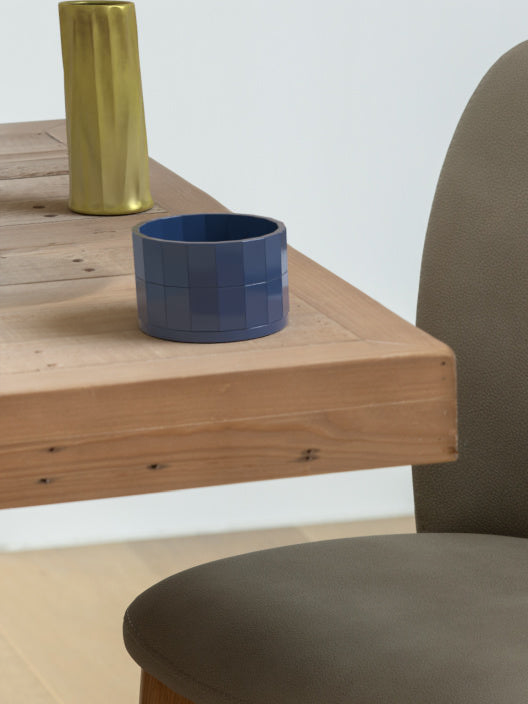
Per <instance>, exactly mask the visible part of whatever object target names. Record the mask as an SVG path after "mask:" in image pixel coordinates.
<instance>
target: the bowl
mask: <svg viewBox="0 0 528 704" xmlns="http://www.w3.org/2000/svg"><path fill="white" fill-rule="evenodd" d="M287 234H288V233H287V227H286V225H285V223H284V222H283V221H281V220H278V219H275V218H273V217H270V216H264V215H258V214H252V213H238V212H193V213H180V214H172V215H171V214H170V215H165V216H158V217H154V218H150V219H146V220H143V221H140V222H137V223H136V224H135V225H133V226H132V227H131V242H132V243H131V244H132V254H133V255H132V256H133V269H134V284H135V297H136V310H137V311H136V312H137V321H138V322H137V323H138V327H139V329H140V331H141V332H143V333H145V334H146V335H149V336H151V337H155V338H157V339H161V340H165V341H166V340H167V341H172V342H182V343H195V344H196V343H197V344H198V343H199V344H201V343H203V344H207V343H208V344H212V343H213V344H215V343H229V342H230V343H231V342H240V341H247V340H252V339H253V340H254V339H259V338H261V337H266V336H269V335H272V334H275V333H277V332H280V331H281V330H283V329H284V328H286V327H287V325H288V324H289V322H290V318H289V317H290V316H289V313H290V292H289V291H290V290H289V266H288V265H289V263H288V262H289V261H288V235H287Z"/></svg>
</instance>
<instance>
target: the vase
mask: <svg viewBox="0 0 528 704" xmlns="http://www.w3.org/2000/svg"><path fill="white" fill-rule="evenodd" d="M57 10H58V22H59V23H58V25H59V35H60V36H59V37H60V48H61V62H62V69H63V90H64V91H63V93H64V94H63V95H64V113H65V130H66V131H65V132H66V141H67V142H66V145H67V157H68V158H67V160H68V178H69V180H68V183H69V184H68V185H69V186H68V187H69V188H68V202H67V205H68V208H69V209H70V210H71V211H72V212H75V213H78V214H84V215H91V216H121V215H122V216H123V215H130V214H138V213H142V212H146V211H149V210H150V209H152V208H154V206H155V200H154V198H153V196H152V192H151V183H150V181H151V180H150V159H149V146H148V145H149V144H148V136H147V125H146V114H145V105H144V103H145V102H144V93H143V82H142V71H141V61H140V49H139V32H138V20H137V13H136V12H137V11H136V5H135V2H133V1H129V0H64V1H59V2H58V3H57Z"/></svg>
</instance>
